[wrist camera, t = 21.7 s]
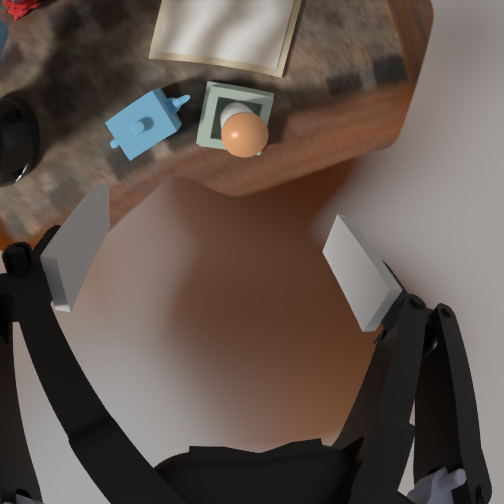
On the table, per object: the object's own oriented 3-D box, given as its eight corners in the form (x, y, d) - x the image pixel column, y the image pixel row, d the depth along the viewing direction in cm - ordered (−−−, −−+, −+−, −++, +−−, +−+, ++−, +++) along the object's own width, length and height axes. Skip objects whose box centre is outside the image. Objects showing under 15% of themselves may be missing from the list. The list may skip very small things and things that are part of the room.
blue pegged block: (183, 74, 32) (176, 74, 26) (204, 110, 35) (202, 118, 29) (112, 120, 34) (92, 131, 28) (133, 153, 37) (118, 170, 31)
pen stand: (196, 142, 38) (194, 149, 35) (207, 81, 33) (207, 81, 30) (258, 151, 40) (262, 159, 37) (272, 92, 35) (278, 95, 32)
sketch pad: (149, 59, 30) (148, 58, 29) (171, -27, 22) (170, -30, 21) (280, 77, 34) (281, 77, 33) (302, -6, 26) (304, -8, 25)
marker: (215, 125, 36) (216, 152, 25) (223, 96, 34) (228, 108, 22) (245, 132, 37) (261, 161, 26) (253, 104, 35) (274, 119, 24)
